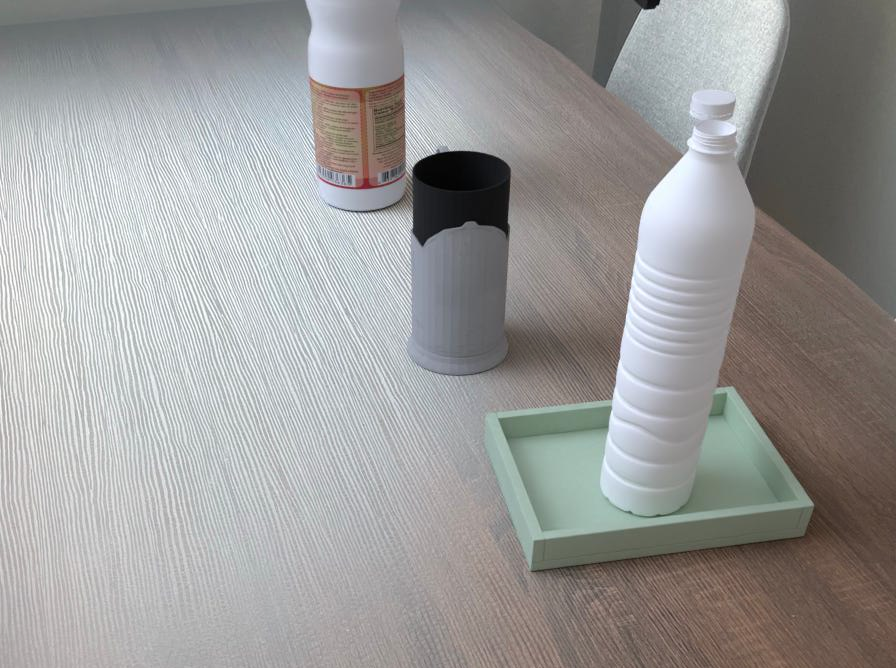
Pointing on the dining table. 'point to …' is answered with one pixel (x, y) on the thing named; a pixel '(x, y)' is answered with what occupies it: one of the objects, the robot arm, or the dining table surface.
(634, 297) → the water bottle
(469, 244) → the glass holder
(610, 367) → the dining table surface
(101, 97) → the dining table surface
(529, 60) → the dining table surface
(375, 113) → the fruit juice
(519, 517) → the rectangular tray
